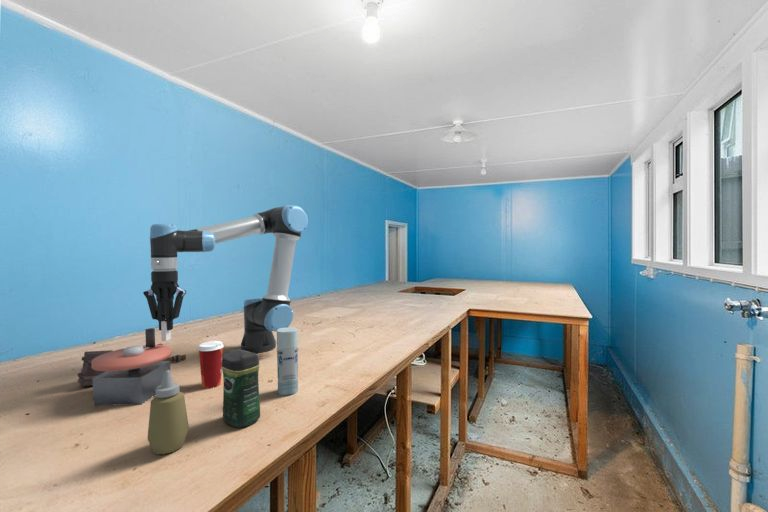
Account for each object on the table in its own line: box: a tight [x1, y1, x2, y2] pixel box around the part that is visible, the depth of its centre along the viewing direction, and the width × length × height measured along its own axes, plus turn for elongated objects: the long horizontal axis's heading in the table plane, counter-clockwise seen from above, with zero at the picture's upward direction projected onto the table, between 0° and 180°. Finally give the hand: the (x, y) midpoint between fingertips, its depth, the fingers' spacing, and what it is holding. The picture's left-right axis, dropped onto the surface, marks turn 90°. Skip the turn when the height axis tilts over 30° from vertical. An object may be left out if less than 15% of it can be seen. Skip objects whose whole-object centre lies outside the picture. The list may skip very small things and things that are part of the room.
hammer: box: [76, 349, 187, 387], centre depth 124 cm, size 7×33×10 cm, turn 145°
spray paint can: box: [276, 326, 299, 397], centre depth 107 cm, size 6×6×20 cm
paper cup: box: [197, 340, 225, 389], centre depth 112 cm, size 8×8×14 cm
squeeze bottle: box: [147, 369, 190, 455], centre depth 77 cm, size 8×8×18 cm
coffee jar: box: [222, 348, 261, 428], centre depth 90 cm, size 10×8×19 cm
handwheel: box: [91, 327, 172, 372], centre depth 105 cm, size 20×20×10 cm
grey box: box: [92, 361, 171, 406], centre depth 106 cm, size 14×14×8 cm
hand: (166, 339), depth 113 cm, fingers closed
